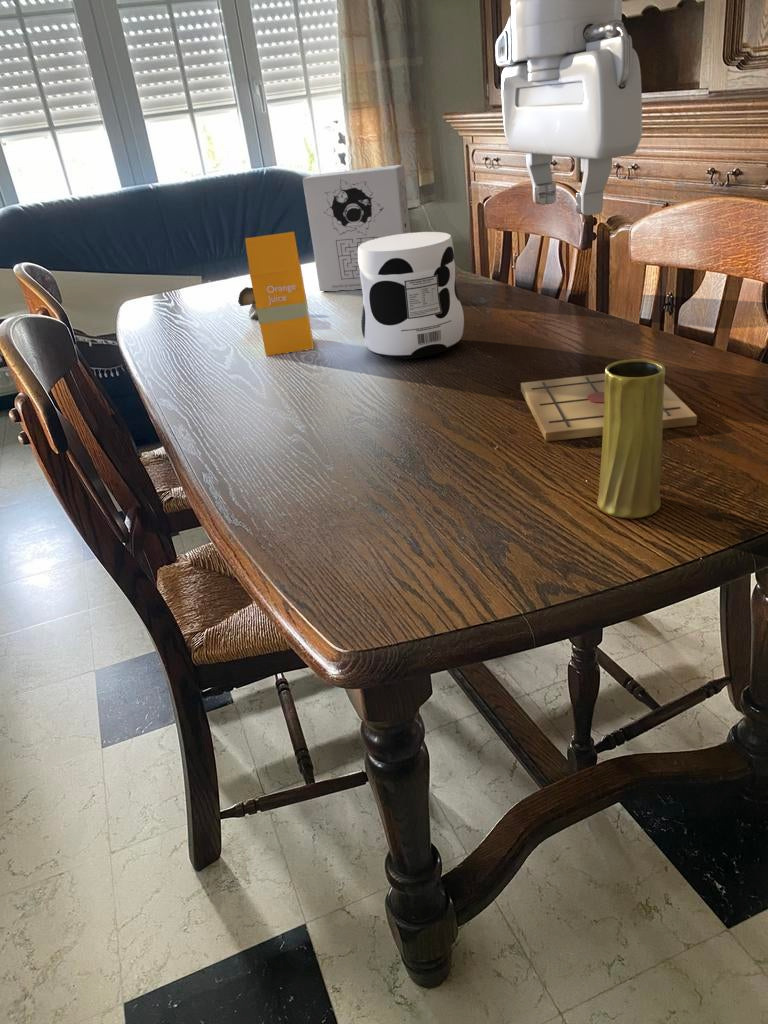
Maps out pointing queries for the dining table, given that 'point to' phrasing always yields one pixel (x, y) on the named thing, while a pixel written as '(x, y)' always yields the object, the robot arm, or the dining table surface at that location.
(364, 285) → the milk container
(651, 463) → the vase
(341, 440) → the dining table surface
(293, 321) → the orange juice
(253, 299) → the eagle figurine
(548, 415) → the board
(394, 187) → the cereal box
